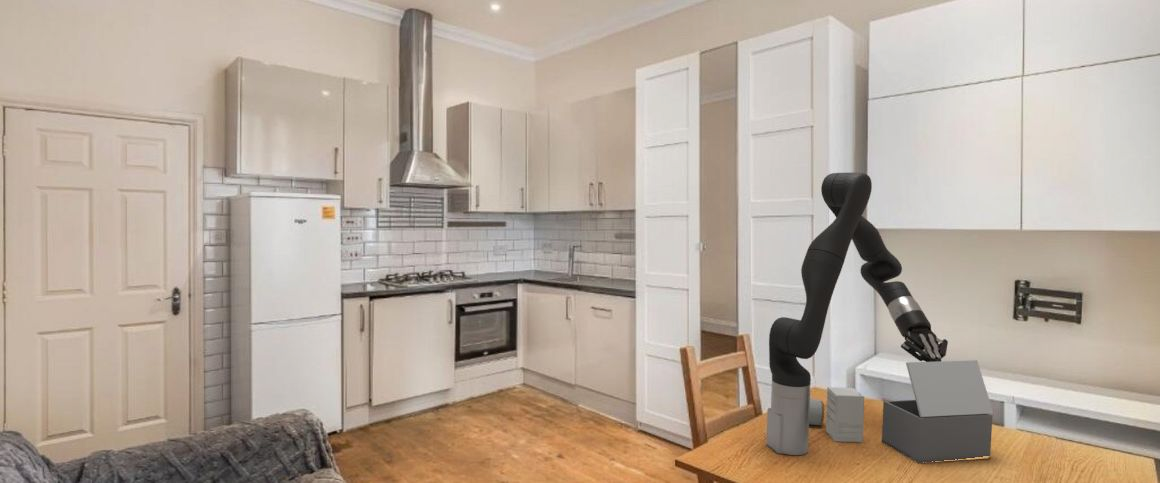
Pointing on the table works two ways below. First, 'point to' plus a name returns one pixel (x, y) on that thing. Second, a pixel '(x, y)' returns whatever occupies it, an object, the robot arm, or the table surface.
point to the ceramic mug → (816, 412)
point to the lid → (949, 388)
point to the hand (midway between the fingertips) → (941, 373)
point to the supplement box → (845, 414)
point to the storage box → (935, 433)
